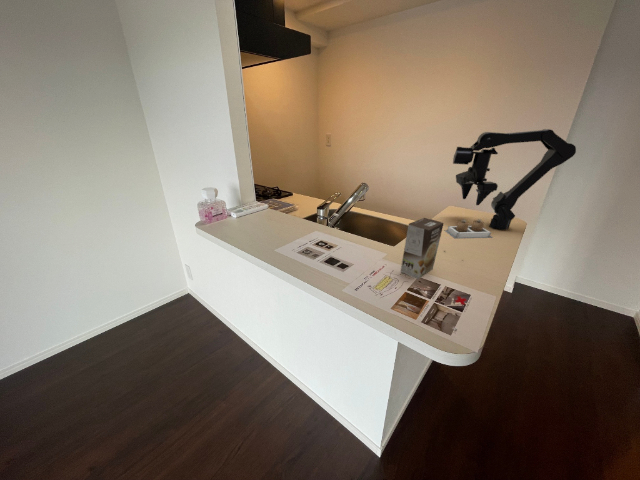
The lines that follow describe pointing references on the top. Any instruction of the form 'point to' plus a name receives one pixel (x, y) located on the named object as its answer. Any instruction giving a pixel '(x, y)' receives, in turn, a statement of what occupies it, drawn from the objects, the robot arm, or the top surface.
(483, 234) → the housing
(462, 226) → the brown cylinder
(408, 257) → the coffee box
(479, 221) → the brown housed cylinder
